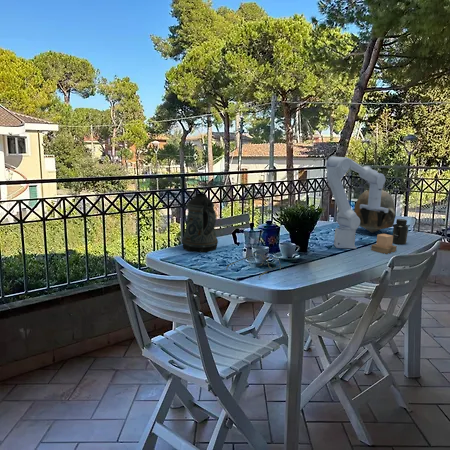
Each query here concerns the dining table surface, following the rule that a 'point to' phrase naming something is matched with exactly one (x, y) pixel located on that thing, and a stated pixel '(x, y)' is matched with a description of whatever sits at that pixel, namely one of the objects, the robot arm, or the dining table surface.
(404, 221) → the supplement bottle
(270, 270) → the eyeglasses
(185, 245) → the beer stein
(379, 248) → the walnut base
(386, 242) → the terracotta cube
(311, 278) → the dining table surface
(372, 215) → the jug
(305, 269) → the dining table surface
